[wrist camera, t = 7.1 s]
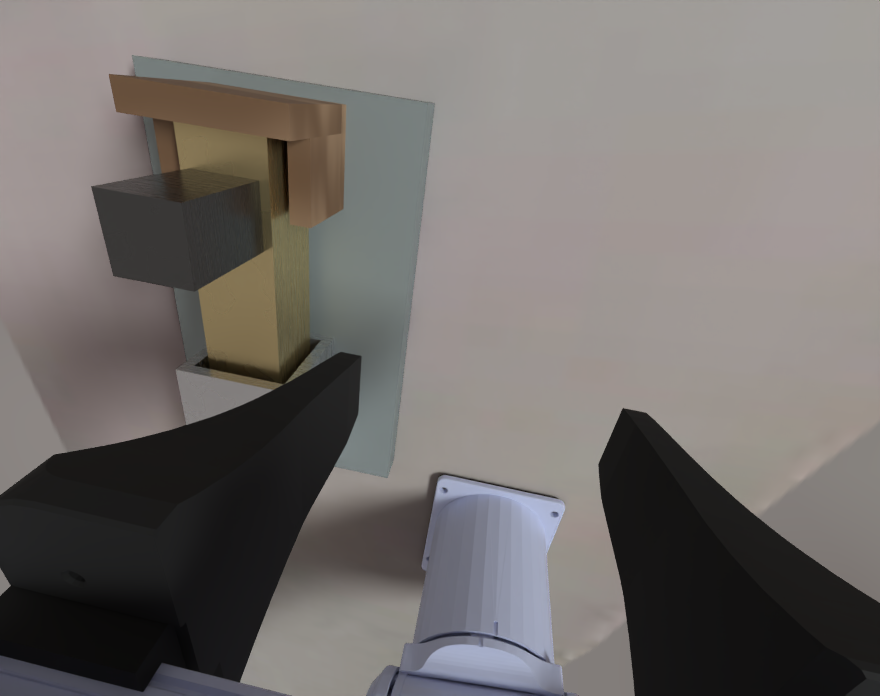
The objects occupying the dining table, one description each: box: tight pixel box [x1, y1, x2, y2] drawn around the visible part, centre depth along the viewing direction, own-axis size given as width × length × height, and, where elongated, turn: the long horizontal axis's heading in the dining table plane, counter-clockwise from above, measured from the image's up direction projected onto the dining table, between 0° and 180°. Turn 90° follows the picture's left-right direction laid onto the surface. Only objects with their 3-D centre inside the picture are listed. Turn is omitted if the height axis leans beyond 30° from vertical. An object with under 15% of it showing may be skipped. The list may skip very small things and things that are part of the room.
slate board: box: [132, 55, 435, 478], centre depth 23 cm, size 20×12×2 cm, turn 172°
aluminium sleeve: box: [176, 333, 334, 425], centre depth 22 cm, size 8×5×5 cm, turn 172°
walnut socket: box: [109, 74, 346, 228], centre depth 16 cm, size 4×6×5 cm
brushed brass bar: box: [91, 122, 310, 384], centre depth 17 cm, size 12×3×7 cm, turn 172°
